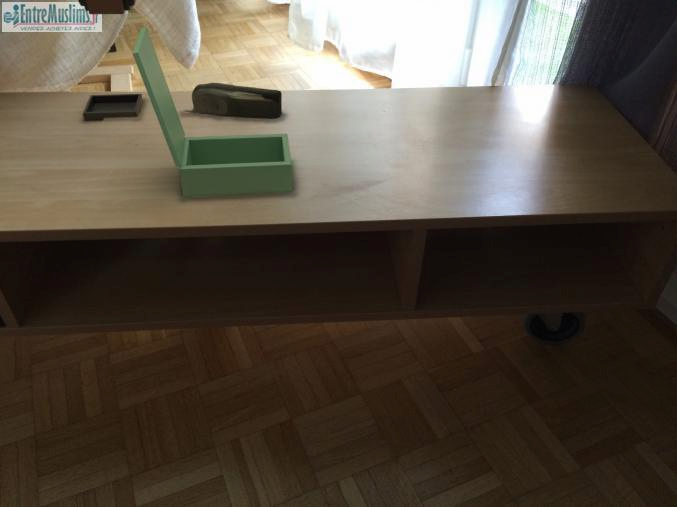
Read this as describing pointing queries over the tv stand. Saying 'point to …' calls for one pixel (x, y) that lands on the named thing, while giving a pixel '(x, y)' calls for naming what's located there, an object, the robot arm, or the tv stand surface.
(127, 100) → the tray
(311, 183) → the tv stand surface
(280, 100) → the dark green elongated piece
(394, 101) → the tv stand surface
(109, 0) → the block
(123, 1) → the robot arm
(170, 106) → the lid
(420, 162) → the tv stand surface
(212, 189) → the box
